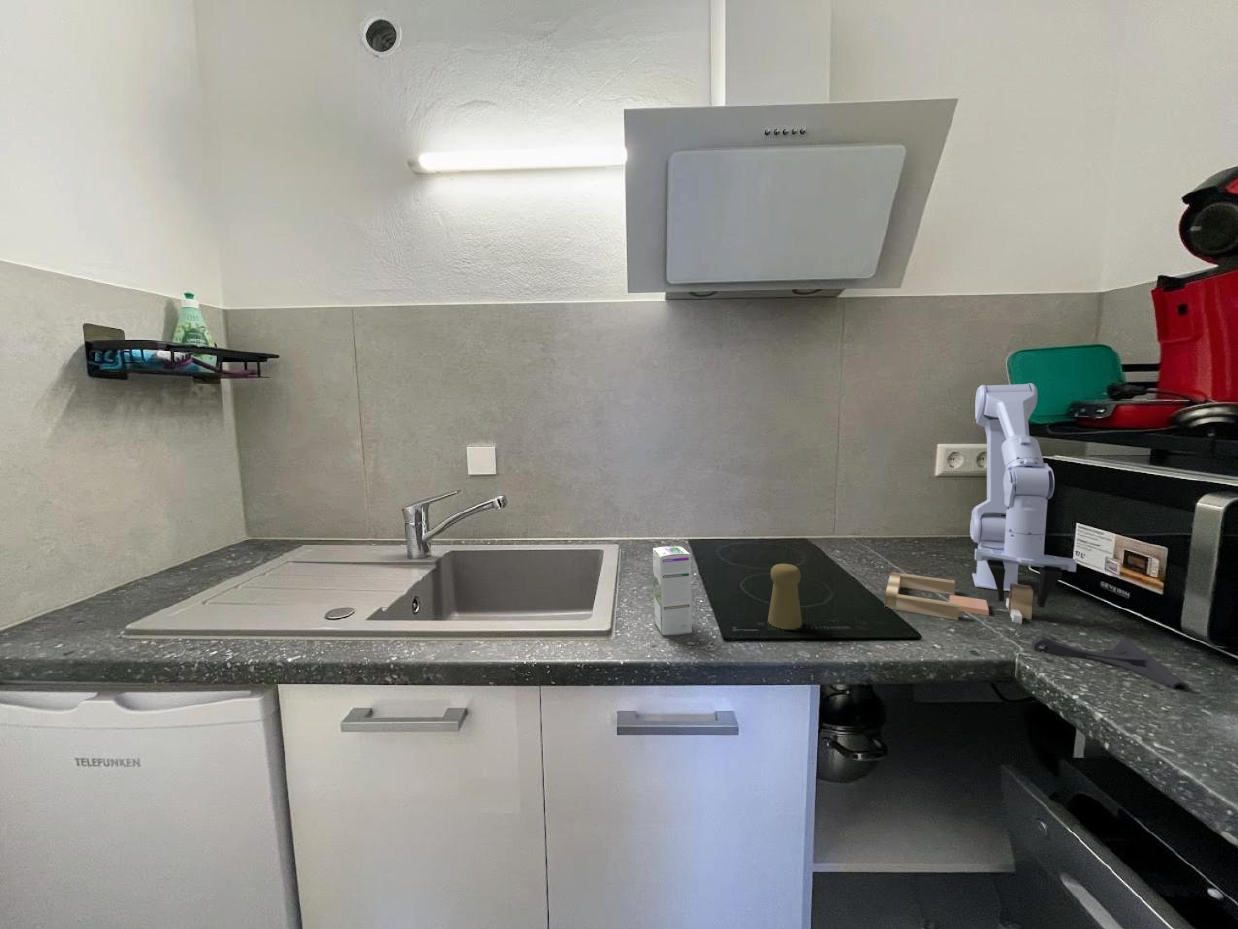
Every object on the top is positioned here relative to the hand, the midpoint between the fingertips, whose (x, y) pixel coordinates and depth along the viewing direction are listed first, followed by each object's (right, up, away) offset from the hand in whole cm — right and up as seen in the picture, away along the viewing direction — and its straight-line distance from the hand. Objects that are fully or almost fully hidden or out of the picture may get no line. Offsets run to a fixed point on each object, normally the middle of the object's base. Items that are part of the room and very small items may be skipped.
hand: (1020, 602), depth 93 cm
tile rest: (-14, -2, +9) cm, 17 cm away
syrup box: (-66, -4, -3) cm, 66 cm away
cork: (-45, -4, -2) cm, 45 cm away
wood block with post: (-1, -2, +1) cm, 3 cm away
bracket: (-2, -5, -16) cm, 17 cm away
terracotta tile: (-7, -3, +4) cm, 8 cm away
